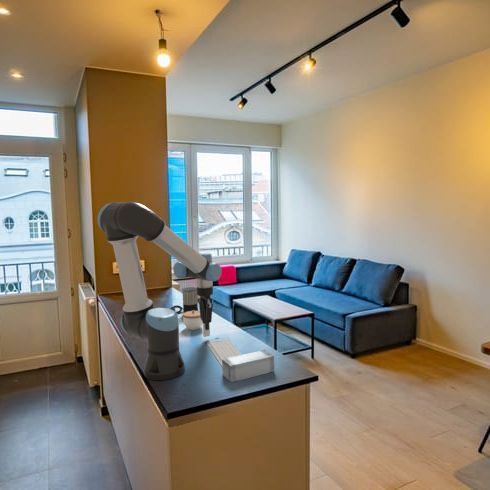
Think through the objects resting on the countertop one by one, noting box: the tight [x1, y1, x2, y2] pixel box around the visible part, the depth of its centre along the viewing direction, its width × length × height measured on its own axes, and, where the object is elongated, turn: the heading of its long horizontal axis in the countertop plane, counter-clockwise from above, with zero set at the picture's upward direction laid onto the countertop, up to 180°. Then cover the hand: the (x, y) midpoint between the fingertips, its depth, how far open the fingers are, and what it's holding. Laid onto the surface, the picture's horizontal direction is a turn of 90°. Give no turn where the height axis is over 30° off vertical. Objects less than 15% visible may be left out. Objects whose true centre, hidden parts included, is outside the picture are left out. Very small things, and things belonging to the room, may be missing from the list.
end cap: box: [221, 349, 275, 383], centre depth 143 cm, size 18×7×6 cm, turn 117°
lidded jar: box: [182, 310, 203, 331], centre depth 198 cm, size 11×11×9 cm
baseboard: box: [203, 337, 243, 367], centre depth 161 cm, size 31×3×12 cm
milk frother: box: [169, 286, 199, 314], centre depth 226 cm, size 14×16×15 cm
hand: (206, 335), depth 180 cm, fingers closed
